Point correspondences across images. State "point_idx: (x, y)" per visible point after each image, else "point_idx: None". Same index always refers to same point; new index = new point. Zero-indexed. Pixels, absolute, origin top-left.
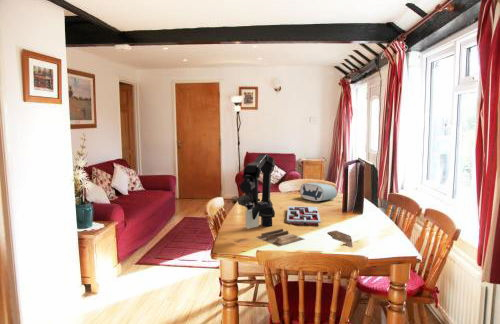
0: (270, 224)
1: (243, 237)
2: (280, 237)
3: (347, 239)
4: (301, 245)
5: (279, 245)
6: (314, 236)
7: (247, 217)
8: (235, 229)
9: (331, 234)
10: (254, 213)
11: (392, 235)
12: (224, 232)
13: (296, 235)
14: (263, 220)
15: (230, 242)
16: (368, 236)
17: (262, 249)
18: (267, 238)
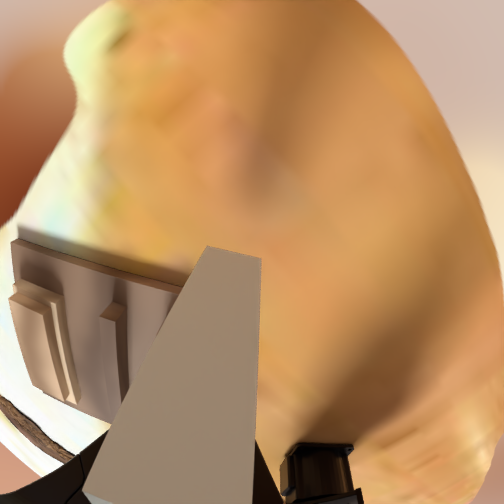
0: (284, 471)
1: (327, 264)
2: (33, 325)
3: (20, 427)
4: (14, 336)
5: (18, 260)
6: (76, 435)
7: (170, 346)
8: (451, 345)
9: (67, 453)
10: (78, 467)
11: (25, 461)
12: (486, 260)
13: (33, 385)
14: (324, 478)
15: (334, 98)
16: (31, 452)
17: (52, 158)
18: (113, 308)
